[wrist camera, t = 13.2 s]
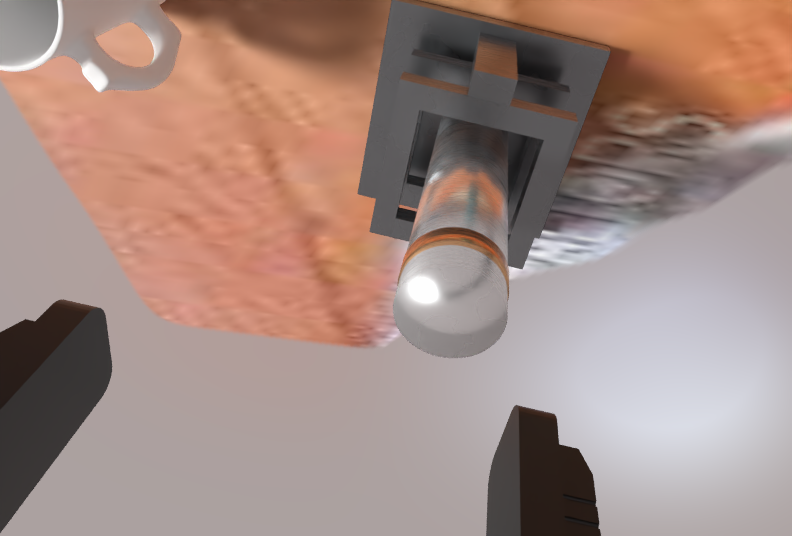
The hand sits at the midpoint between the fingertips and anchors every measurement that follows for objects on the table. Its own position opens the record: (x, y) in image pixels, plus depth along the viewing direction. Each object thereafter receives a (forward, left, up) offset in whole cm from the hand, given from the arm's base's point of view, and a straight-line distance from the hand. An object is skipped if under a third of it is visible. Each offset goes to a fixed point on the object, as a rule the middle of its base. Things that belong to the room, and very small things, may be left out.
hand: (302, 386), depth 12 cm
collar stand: (-3, +5, -28) cm, 29 cm away
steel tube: (-3, +5, -27) cm, 28 cm away
